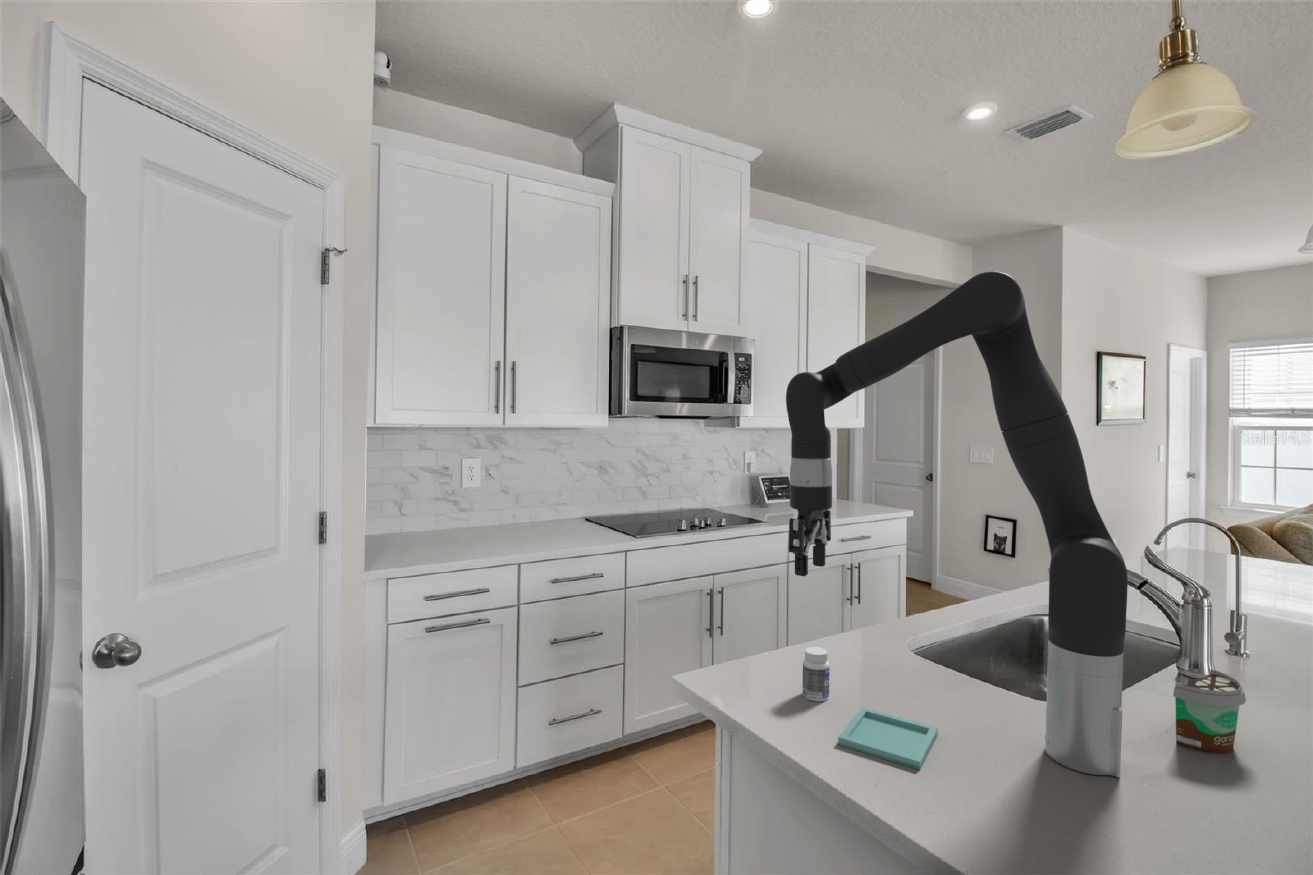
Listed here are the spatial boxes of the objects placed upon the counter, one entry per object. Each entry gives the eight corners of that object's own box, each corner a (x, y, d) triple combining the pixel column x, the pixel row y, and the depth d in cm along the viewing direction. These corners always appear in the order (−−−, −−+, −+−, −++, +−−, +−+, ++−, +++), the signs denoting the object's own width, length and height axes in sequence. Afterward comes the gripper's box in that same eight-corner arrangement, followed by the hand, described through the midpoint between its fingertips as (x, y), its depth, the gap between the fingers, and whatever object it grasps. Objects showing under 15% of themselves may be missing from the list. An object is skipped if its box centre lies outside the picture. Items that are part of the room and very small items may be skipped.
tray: (937, 735, 101) (937, 727, 101) (919, 770, 91) (920, 761, 91) (862, 714, 108) (862, 707, 108) (838, 744, 98) (838, 737, 98)
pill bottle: (830, 703, 112) (830, 656, 112) (802, 700, 113) (803, 654, 113) (828, 691, 117) (828, 646, 116) (802, 689, 118) (802, 644, 117)
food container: (1221, 766, 92) (1223, 699, 92) (1171, 746, 98) (1173, 683, 97) (1258, 746, 98) (1261, 682, 97) (1209, 728, 103) (1212, 668, 103)
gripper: (815, 487, 107) (815, 582, 108) (844, 480, 119) (843, 565, 120) (775, 485, 112) (774, 576, 112) (806, 477, 123) (806, 560, 124)
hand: (810, 570), depth 116 cm, fingers open, 8 cm apart
